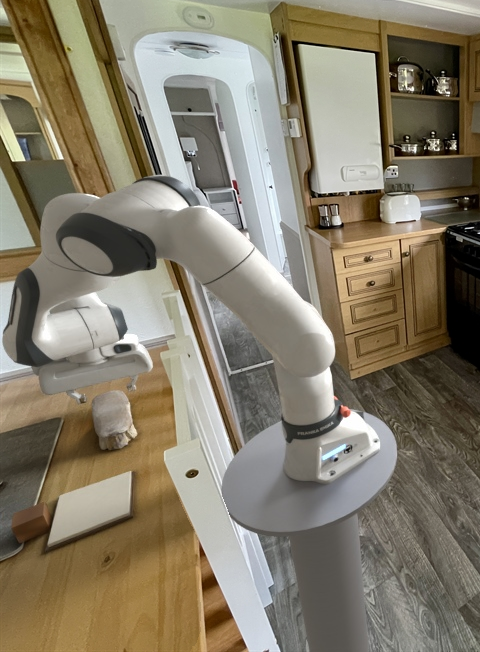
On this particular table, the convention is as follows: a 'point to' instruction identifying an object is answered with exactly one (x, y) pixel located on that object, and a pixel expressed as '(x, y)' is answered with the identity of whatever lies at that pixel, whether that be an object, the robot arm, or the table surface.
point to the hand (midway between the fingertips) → (108, 395)
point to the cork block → (31, 522)
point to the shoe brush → (113, 419)
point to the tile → (91, 509)
